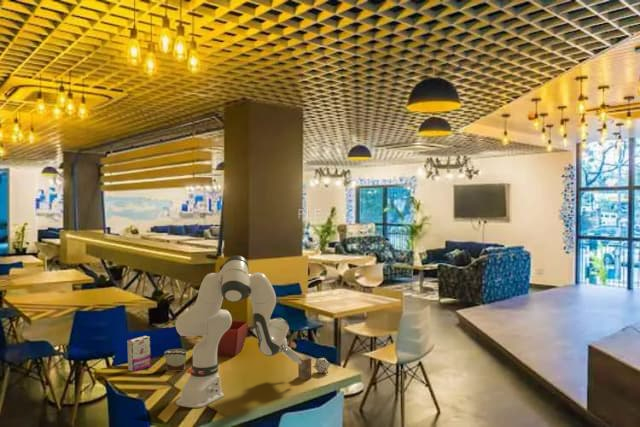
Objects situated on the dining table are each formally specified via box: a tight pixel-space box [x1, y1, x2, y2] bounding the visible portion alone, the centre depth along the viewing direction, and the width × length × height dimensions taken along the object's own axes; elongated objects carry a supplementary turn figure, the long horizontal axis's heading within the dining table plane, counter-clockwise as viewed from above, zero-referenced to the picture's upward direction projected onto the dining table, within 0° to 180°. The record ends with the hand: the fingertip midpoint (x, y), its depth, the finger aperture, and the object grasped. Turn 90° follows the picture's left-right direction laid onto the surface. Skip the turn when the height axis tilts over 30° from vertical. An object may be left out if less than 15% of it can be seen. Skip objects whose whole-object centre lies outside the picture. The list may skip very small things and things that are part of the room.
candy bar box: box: [126, 335, 152, 373], centre depth 272 cm, size 11×5×16 cm, turn 143°
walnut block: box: [297, 355, 312, 381], centre depth 255 cm, size 5×5×10 cm
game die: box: [312, 355, 332, 375], centre depth 262 cm, size 9×8×10 cm
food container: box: [163, 348, 188, 372], centre depth 271 cm, size 12×6×10 cm, turn 84°
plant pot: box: [217, 320, 249, 357], centre depth 298 cm, size 19×19×17 cm
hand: (297, 360), depth 253 cm, fingers open, 8 cm apart
